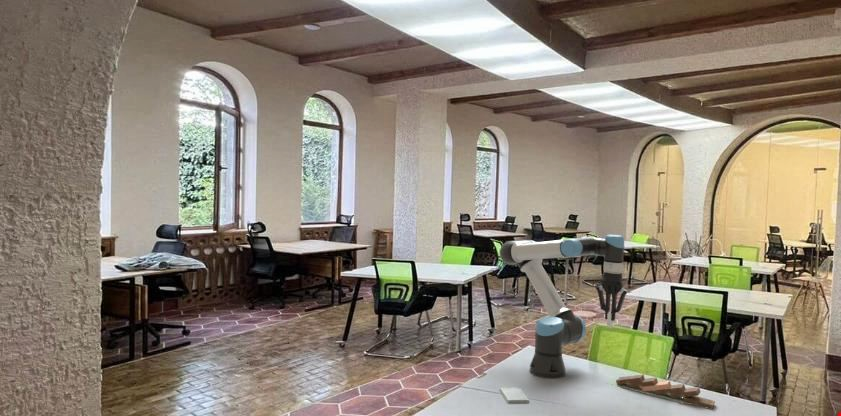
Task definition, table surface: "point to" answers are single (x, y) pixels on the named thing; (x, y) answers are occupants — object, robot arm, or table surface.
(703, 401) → the domino
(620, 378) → the domino
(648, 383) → the domino
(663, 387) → the domino
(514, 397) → the hard drive
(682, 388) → the domino
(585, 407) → the table surface
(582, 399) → the table surface
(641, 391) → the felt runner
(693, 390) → the domino
